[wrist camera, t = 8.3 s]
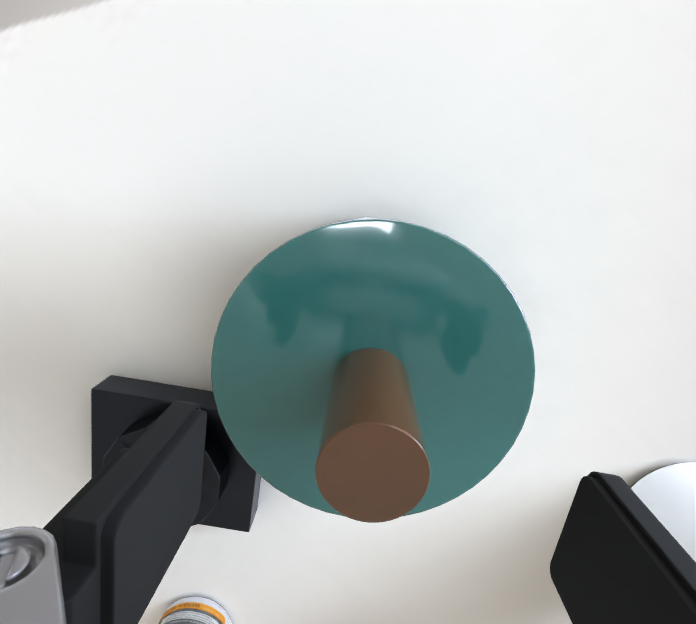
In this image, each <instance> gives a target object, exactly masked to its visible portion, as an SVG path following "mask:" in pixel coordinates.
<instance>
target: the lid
mask: <svg viewBox="0 0 696 624" xmlns="http://www.w3.org/2000/svg"><path fill="white" fill-rule="evenodd" d="M211 377H212V385H213V393H214V398H215V402H216V405H217V409H218V413H219V416H220V418H221V420H222V423H223V425H224V427H225V430H226V432H227V434H228V435H229V437H230V439H231V441H232V442H233V444H234V446H235V447H236V449H237V450H238V451H239V453H240V454H241V455H242V457H243V458H244V459H245V461H246V462H247V463H248V464H249V465H250V466H251V467H252V468H253V469H254V470H255V471H256V472H257V473H258V474H259V475H260V476H261V477H262V478H263V479H265V480H266V481H267V482H268V483H270V484H271V485H272V486H273V487H275V488H276V489H278V490H279V491H281V492H283V493H284V494H286V495H287V496H289V497H291V498H292V499H295V500H297V501H299V502H301V503H303V504H305V505H307V506H310V507H313V508H316V509H319V510H321V511H324V512H328V513H332V514H337V515H341V516H346V517H348V518H351V519H354V520H357V521H362V522H385V521H390V520H393V519H396V518H399V517H401V516H406V515H411V514H415V513H420V512H423V511H426V510H429V509H432V508H435V507H437V506H440V505H442V504H444V503H446V502H448V501H450V500H453V499H455V498H457V497H458V496H460V495H461V494H463V493H465V492H466V491H468V490H469V489H471V488H473V487H474V486H475V485H476V484H478V483H479V482H480V481H481V480H482V479H484V478H485V477H486V476H487V475H488V474H489V473H490V472H491V471H492V470H493V469H494V468H495V467H496V466H497V465H498V464H499V463H500V462H501V461H502V459H503V458H504V457H505V455H506V454H507V453H508V451H509V450H510V448H511V447H512V446H513V444H514V442H515V440H516V438H517V437H518V435H519V433H520V431H521V429H522V427H523V425H524V422H525V419H526V417H527V414H528V411H529V408H530V404H531V399H532V395H533V389H534V378H535V362H534V349H533V344H532V340H531V335H530V330H529V328H528V325H527V322H526V320H525V317H524V314H523V311H522V310H521V308H520V306H519V304H518V302H517V300H516V298H515V297H514V295H513V293H512V292H511V290H510V289H509V288H508V286H507V285H506V284H505V282H504V281H503V280H502V278H501V277H500V276H499V275H498V274H497V273H496V272H495V271H494V270H493V269H492V268H491V267H490V266H489V265H488V264H487V263H486V262H485V261H484V260H483V259H482V258H481V257H479V256H478V255H477V254H475V253H474V252H473V251H471V250H470V249H469V248H467V247H466V246H464V245H463V244H461V243H459V242H457V241H455V240H454V239H452V238H450V237H448V236H446V235H444V234H442V233H439V232H437V231H434V230H432V229H429V228H426V227H424V226H421V225H416V224H412V223H408V222H404V221H398V220H388V219H378V218H377V219H354V220H348V221H342V222H336V223H331V224H328V225H325V226H322V227H319V228H315V229H312V230H310V231H308V232H306V233H303V234H301V235H299V236H297V237H295V238H293V239H291V240H289V241H288V242H286V243H284V244H283V245H281V246H280V247H278V248H277V249H275V250H274V251H272V252H271V253H269V254H268V255H267V256H266V257H265V258H264V259H262V260H261V261H260V262H259V263H258V264H257V265H256V266H254V267H253V269H252V270H251V271H250V272H249V273H248V274H247V275H246V277H245V278H244V279H243V280H242V281H241V282H240V284H239V285H238V287H237V288H236V290H235V291H234V293H233V295H232V296H231V298H230V299H229V301H228V303H227V305H226V307H225V309H224V312H223V314H222V316H221V318H220V321H219V324H218V328H217V331H216V334H215V338H214V344H213V351H212V365H211Z"/></svg>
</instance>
